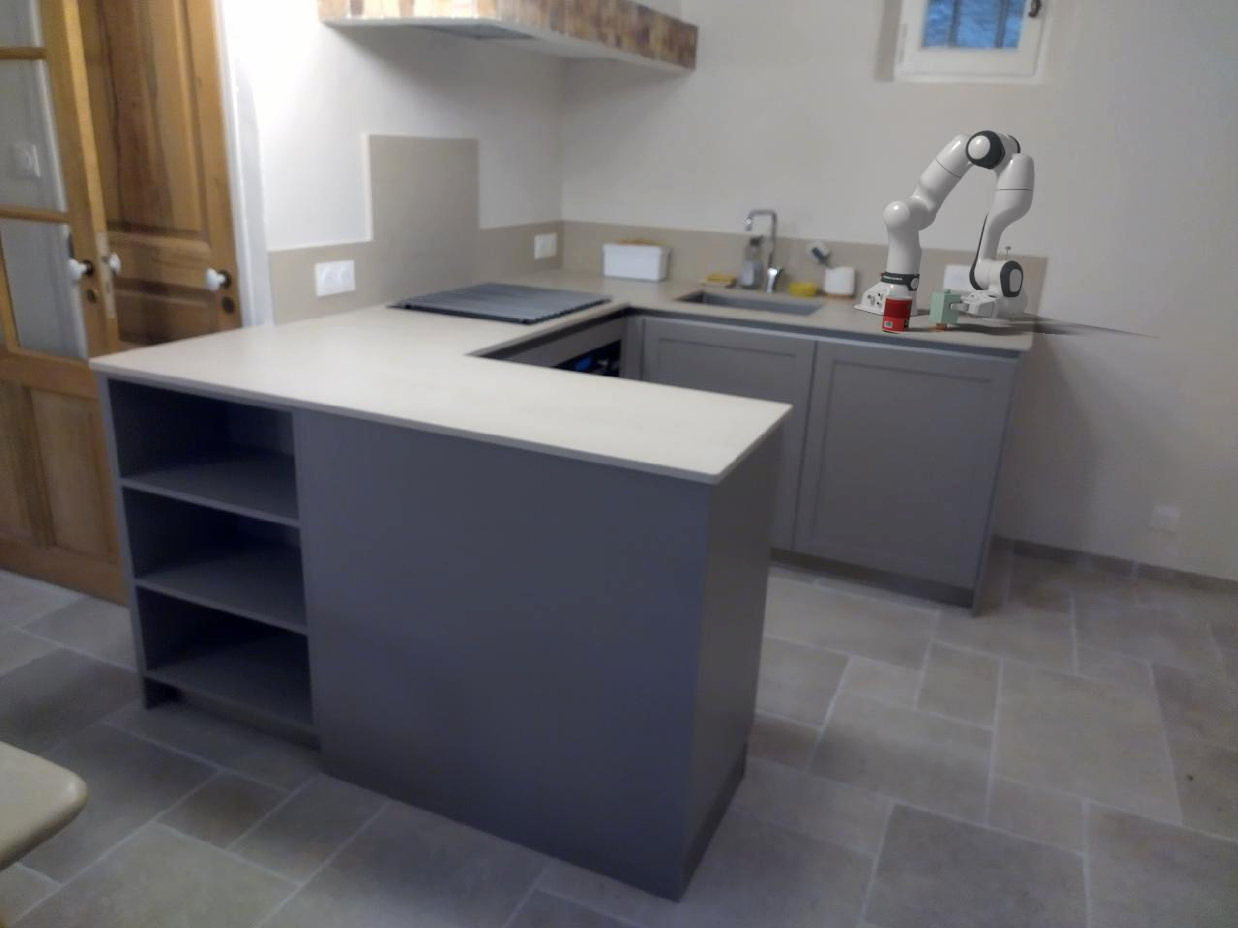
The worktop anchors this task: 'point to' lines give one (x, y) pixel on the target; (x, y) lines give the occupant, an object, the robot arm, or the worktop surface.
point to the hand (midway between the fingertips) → (942, 304)
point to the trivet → (941, 330)
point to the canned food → (897, 313)
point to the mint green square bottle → (944, 307)
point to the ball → (941, 326)
